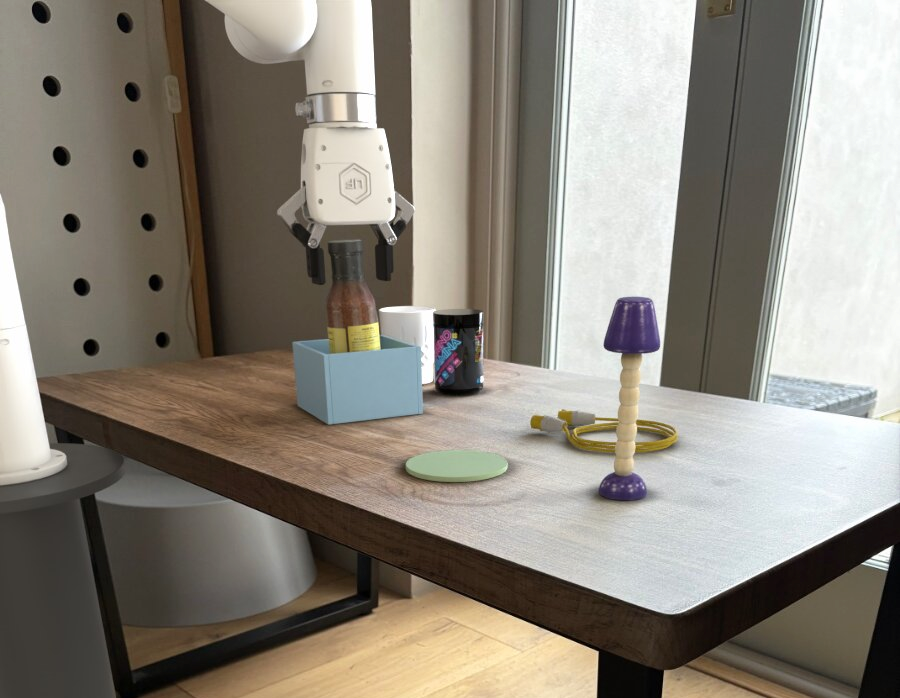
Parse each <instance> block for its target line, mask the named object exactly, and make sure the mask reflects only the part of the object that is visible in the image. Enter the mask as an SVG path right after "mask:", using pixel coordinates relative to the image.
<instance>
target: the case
mask: <svg viewBox="0 0 900 698" xmlns="http://www.w3.org/2000/svg"><path fill="white" fill-rule="evenodd" d="M379 338H380V350H370V351H359V352H348V353H336V354H330V349H329V340H328V338H325V339H312V340H299V341H292V355H293V368H294V379H295V381H294V382H295V391H296V392H295V393H296V404H297V407H299V408H300V409H301V410H304V411H306V412H307V413H308V414H310V415H311V416H314V417H315V418H317V419H318V420H320V421H322V422H324V423H325V424H327V425H328V426H329V425H331V426H332V425H337V424H345V423H346V424H347V423H354V422H362V421H363V422H364V421H372V420H381V419H388V418H397V417H406V416H413V415H422V414H423V413H424V406H423V405H424V404H423V402H424V401H423V384H422V366H421V347H420V346H417V345H414V344H410V343H407V342H404V341H401V340H398V339H395V338H392V337H389V336H385V335H381V334H379Z"/></svg>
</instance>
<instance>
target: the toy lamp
mask: <svg viewBox="0 0 900 698" xmlns="http://www.w3.org/2000/svg"><path fill="white" fill-rule="evenodd" d="M605 332H606V333H605V336H604V340H603V349H604V350H606V351H608V352H611V353H615V354H621V356H620V364H621V367H622V369H621V371H620V374H619V383H620V385H621V387H620V389H619V393H618V401H619V404H620V405H619V406H618V409H617V418H618V420H619V421H618V422H619V423H618V425H616V426H617V429H615V434H616V438H617V440H616V445H614V446H615V456H616V457H615V459H614V462H613V470H614V471H613V472H610V473H608V474H607V475H605V476H604V478H603V479H602V480H601V482H600V484H599V487H598V494H599V495H601V497H603V498H606V499H610V500H617V501H635V500H641V499H643V498H645V497H647V495H648V491H647V490H648V489H647V485H646V482H645V481H644V479H643V478H642V477H641V476H640V475H639V474H637V473H635V472H634V471H633V470H634V467H635V460H634V455H635V454H636V452H635V446H636V445H635V442H636V441H635V439H636V437H637V434H638V430H637V427H638V426H637V425H636V423H637V422H636V420H638V418H639V414H640V413H639V411H640V410H639V406H638V403H639V401H640V397H641V392H640V388H639V385H640V383H641V380H642V372H641V368H640V367H641V366H642V363H643V354H652V353H656V352H658V351H659V350H660V349H661V337H660V331H659V325H658V318H657V313H656V308H655V302H654V300H653V299H651V297H645V296H624V297H619V298H618V299H616V301H615V303H614V307H613V309H612V313H611V316H610V319H609V323H608V326H607V329H606V331H605ZM635 422H636V423H635Z"/></svg>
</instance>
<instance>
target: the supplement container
mask: <svg viewBox="0 0 900 698" xmlns="http://www.w3.org/2000/svg"><path fill="white" fill-rule="evenodd" d="M484 325H485V322H484V311H483V310H482V309H475V308H447V309H446V308H445V309H438V310H435V311H433V342H434V362H433V380H434V383H433V385H434V388H435V391H436V392H437V393H438V394H440V395H444V396H454V397H457V396H459V397H461V396H472V395H476V394H479V393H481V392H482V390H483V389H484Z"/></svg>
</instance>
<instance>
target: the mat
mask: <svg viewBox="0 0 900 698" xmlns="http://www.w3.org/2000/svg"><path fill="white" fill-rule="evenodd" d="M508 466H509V463H508V461H507V459H506V458H505V457H504V456H501V455H499V454H496V453H492V452H488V451H482V450H473V449H469V450H468V449H446V450H436V451H429V452H425V453H421V454H418V455H415V456H413V457H411V458H409V459H408V460H406V462H405V471H406V473H408V474H409V475H410V476H412V477H414V478H417V479H422V480H425V481H432V482H442V483H467V482H477V481H483V480H488V479H489V480H490V479H493V478H495V477H496V478H497V477H499V476H501V475H503V474H504V473H505V472H506V471H508Z"/></svg>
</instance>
